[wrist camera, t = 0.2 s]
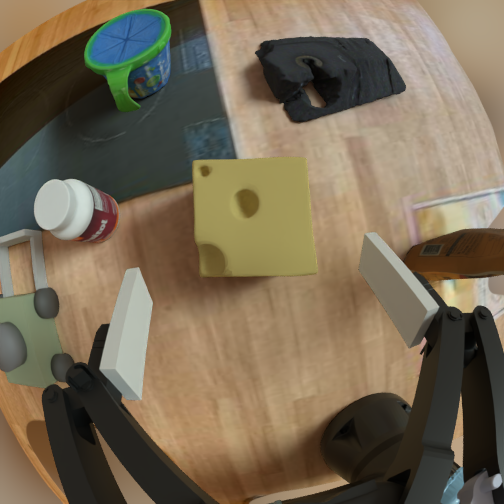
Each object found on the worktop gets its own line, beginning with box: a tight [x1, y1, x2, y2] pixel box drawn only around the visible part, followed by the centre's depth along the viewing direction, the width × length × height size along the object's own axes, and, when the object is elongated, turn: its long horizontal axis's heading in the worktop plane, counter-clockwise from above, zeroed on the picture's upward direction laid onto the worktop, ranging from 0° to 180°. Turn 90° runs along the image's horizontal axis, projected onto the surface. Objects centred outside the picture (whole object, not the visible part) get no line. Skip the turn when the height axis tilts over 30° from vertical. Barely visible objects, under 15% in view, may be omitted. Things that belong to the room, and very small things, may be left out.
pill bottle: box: [34, 179, 120, 243], centre depth 25 cm, size 6×6×11 cm
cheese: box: [192, 157, 318, 277], centre depth 27 cm, size 10×11×10 cm
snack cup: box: [84, 9, 171, 112], centre depth 26 cm, size 16×10×10 cm
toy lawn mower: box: [0, 229, 75, 388], centre depth 25 cm, size 21×12×9 cm, turn 9°
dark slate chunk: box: [255, 36, 406, 122], centre depth 31 cm, size 15×22×5 cm
